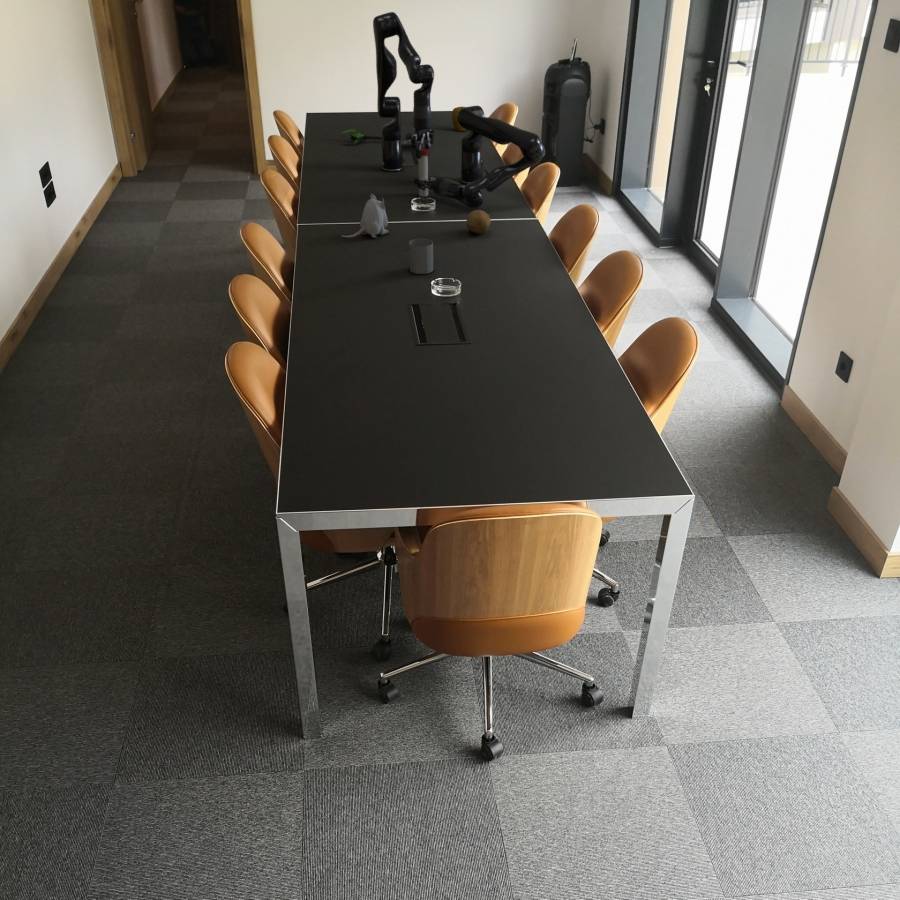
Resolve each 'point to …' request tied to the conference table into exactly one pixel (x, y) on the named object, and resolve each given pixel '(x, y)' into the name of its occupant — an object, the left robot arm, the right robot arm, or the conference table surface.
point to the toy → (373, 218)
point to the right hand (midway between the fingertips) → (419, 179)
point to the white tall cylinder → (423, 173)
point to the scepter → (359, 137)
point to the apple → (454, 119)
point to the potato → (478, 221)
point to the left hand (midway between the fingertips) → (422, 156)
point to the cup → (421, 256)
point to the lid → (424, 151)
